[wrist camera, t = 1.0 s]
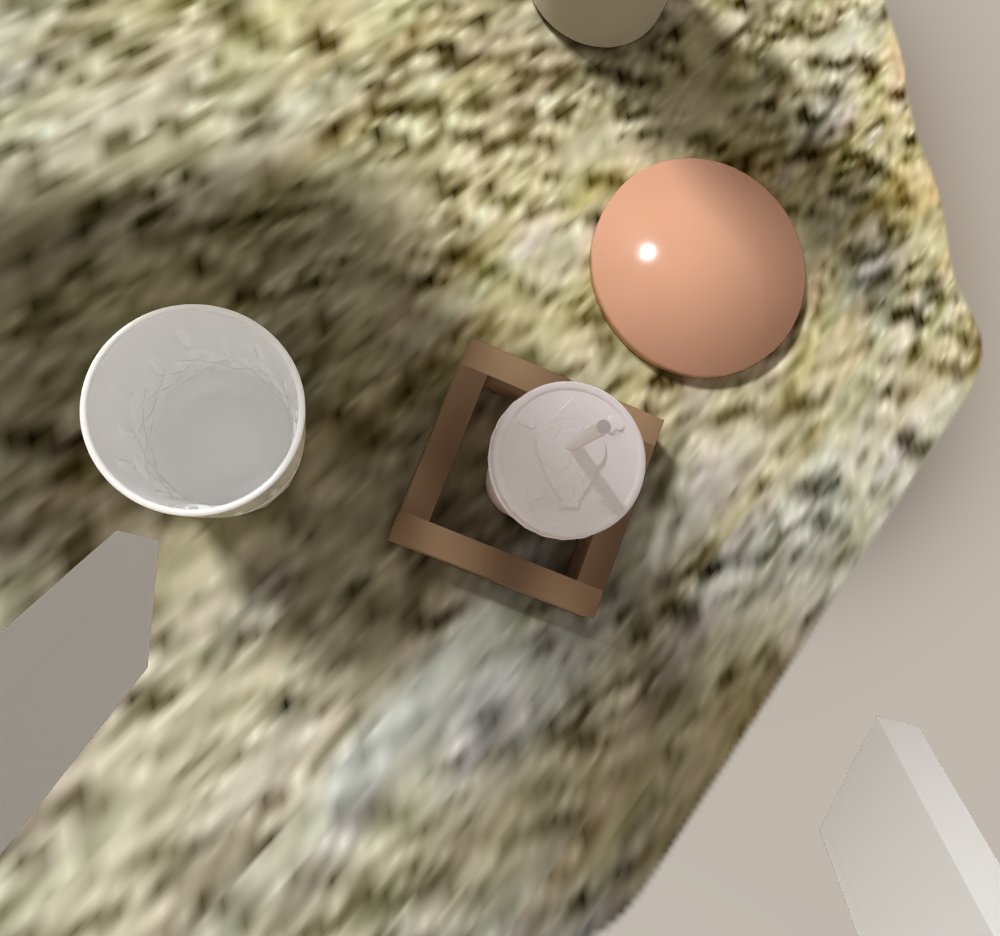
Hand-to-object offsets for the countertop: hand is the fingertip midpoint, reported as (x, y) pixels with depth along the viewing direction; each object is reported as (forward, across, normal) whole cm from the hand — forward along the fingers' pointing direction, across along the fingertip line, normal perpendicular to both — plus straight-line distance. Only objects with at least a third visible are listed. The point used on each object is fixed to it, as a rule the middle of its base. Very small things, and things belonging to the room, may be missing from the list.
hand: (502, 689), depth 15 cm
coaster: (+35, +7, +4) cm, 36 cm away
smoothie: (+27, +1, -7) cm, 28 cm away
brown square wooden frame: (+27, +1, -7) cm, 28 cm away
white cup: (+25, -13, -8) cm, 29 cm away
